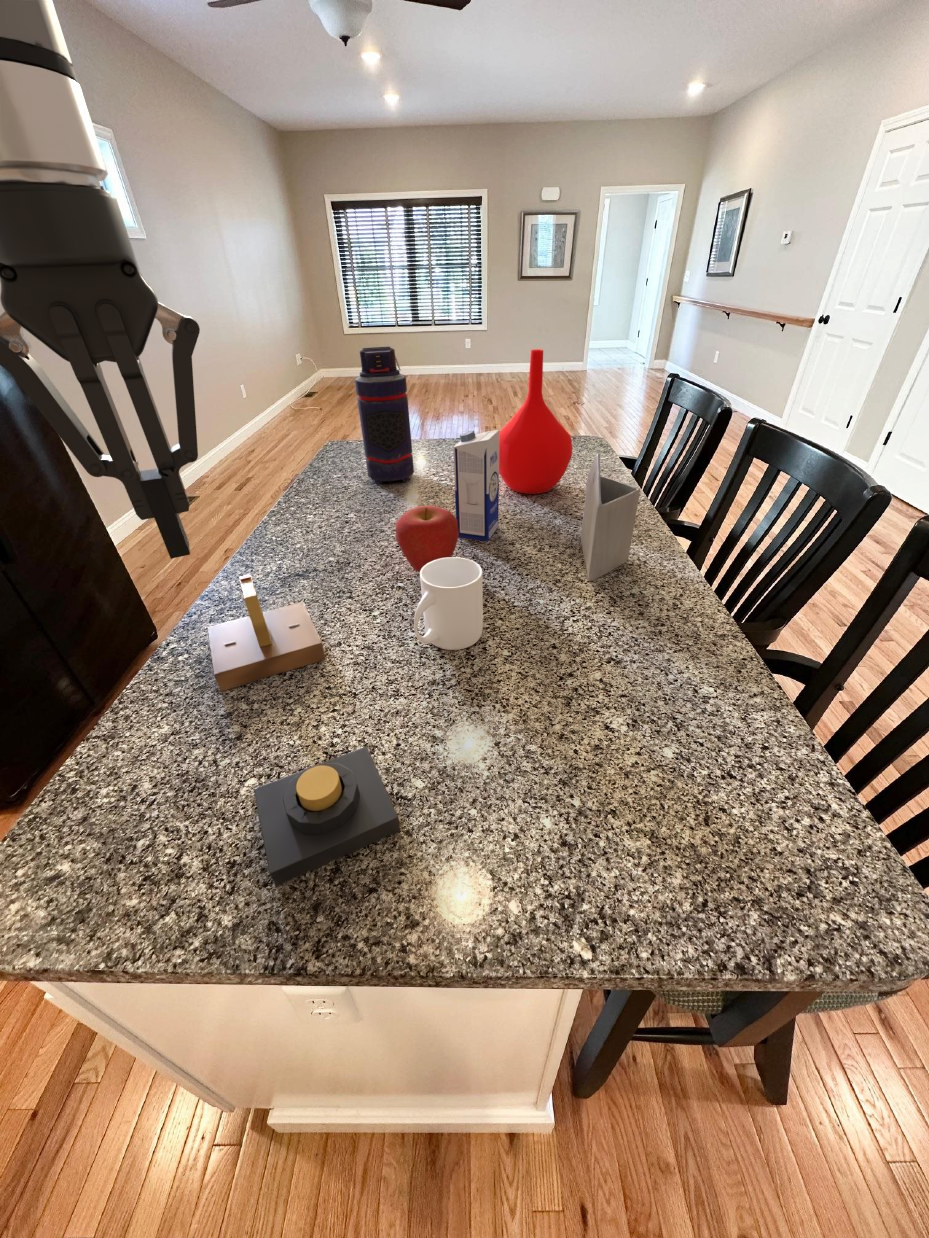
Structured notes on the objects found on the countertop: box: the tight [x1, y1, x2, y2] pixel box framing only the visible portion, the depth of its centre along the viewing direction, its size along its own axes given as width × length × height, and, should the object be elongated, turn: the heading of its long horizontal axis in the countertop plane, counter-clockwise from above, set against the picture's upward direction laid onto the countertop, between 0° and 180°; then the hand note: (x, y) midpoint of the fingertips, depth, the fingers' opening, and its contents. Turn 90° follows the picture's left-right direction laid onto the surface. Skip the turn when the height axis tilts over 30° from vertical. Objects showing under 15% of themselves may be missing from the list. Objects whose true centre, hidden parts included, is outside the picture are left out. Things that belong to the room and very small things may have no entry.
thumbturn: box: [238, 573, 271, 647], centre depth 70 cm, size 6×2×8 cm, turn 26°
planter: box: [579, 452, 641, 582], centre depth 89 cm, size 16×8×19 cm, turn 174°
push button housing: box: [253, 746, 401, 887], centre depth 51 cm, size 12×10×4 cm
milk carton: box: [452, 429, 500, 542], centre depth 99 cm, size 7×7×20 cm
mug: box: [413, 556, 484, 651], centre depth 72 cm, size 9×12×11 cm
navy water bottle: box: [354, 346, 415, 485], centre depth 126 cm, size 14×12×30 cm
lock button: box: [296, 766, 342, 811], centre depth 49 cm, size 4×4×2 cm
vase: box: [499, 348, 573, 495], centre depth 117 cm, size 18×18×30 cm
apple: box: [394, 505, 459, 573], centre depth 89 cm, size 11×11×12 cm
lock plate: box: [206, 601, 326, 692], centre depth 74 cm, size 14×12×3 cm
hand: (179, 549), depth 43 cm, fingers closed
